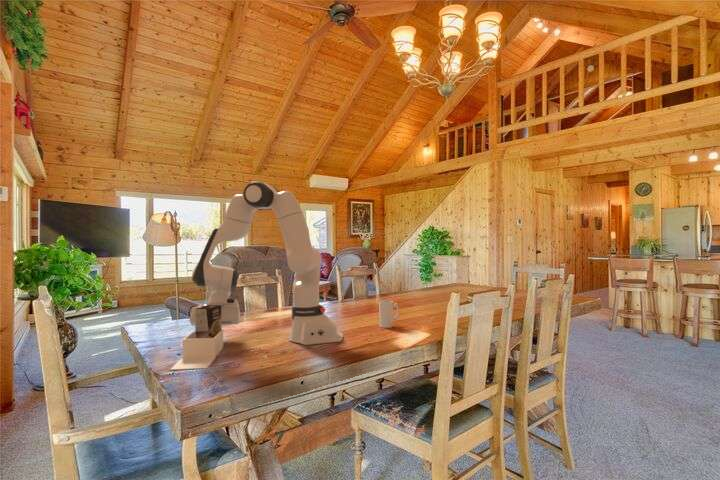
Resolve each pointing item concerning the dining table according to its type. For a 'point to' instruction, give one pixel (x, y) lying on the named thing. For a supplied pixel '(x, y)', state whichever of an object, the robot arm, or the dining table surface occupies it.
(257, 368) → the dining table surface
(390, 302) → the mug
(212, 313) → the coffee box
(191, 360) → the box
